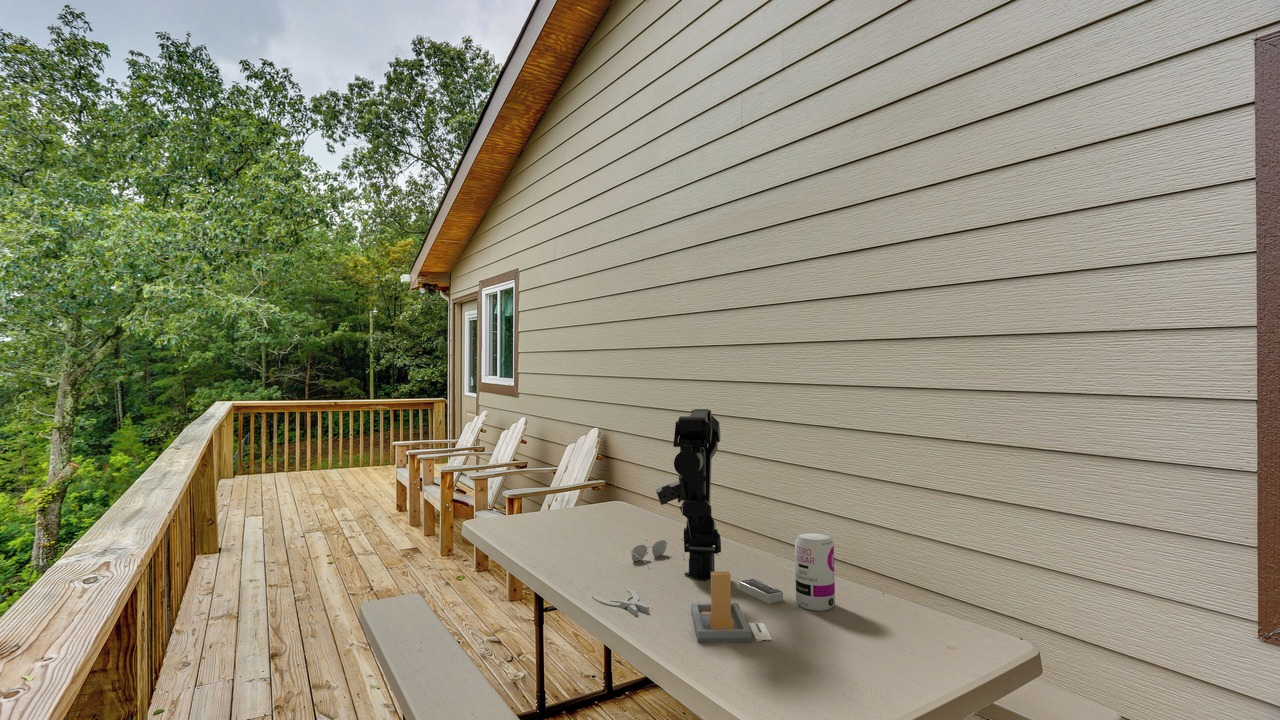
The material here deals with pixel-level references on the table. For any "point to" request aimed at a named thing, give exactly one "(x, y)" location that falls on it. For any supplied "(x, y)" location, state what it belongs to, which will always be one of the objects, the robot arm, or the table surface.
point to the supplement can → (815, 571)
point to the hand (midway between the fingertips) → (693, 540)
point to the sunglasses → (657, 550)
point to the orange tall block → (721, 601)
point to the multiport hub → (761, 590)
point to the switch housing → (737, 634)
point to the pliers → (626, 603)
